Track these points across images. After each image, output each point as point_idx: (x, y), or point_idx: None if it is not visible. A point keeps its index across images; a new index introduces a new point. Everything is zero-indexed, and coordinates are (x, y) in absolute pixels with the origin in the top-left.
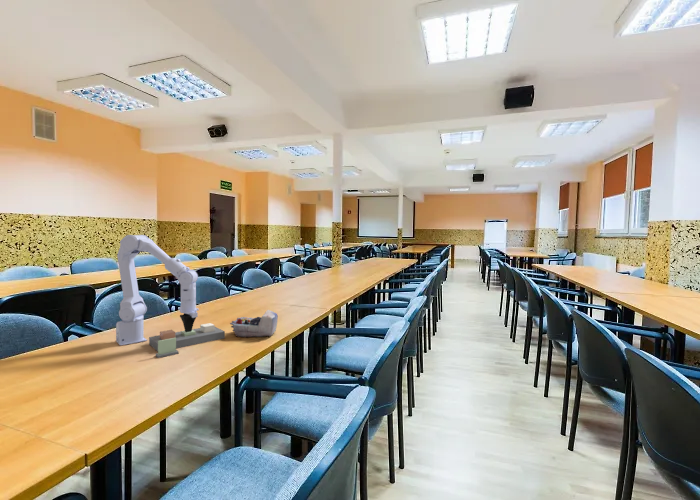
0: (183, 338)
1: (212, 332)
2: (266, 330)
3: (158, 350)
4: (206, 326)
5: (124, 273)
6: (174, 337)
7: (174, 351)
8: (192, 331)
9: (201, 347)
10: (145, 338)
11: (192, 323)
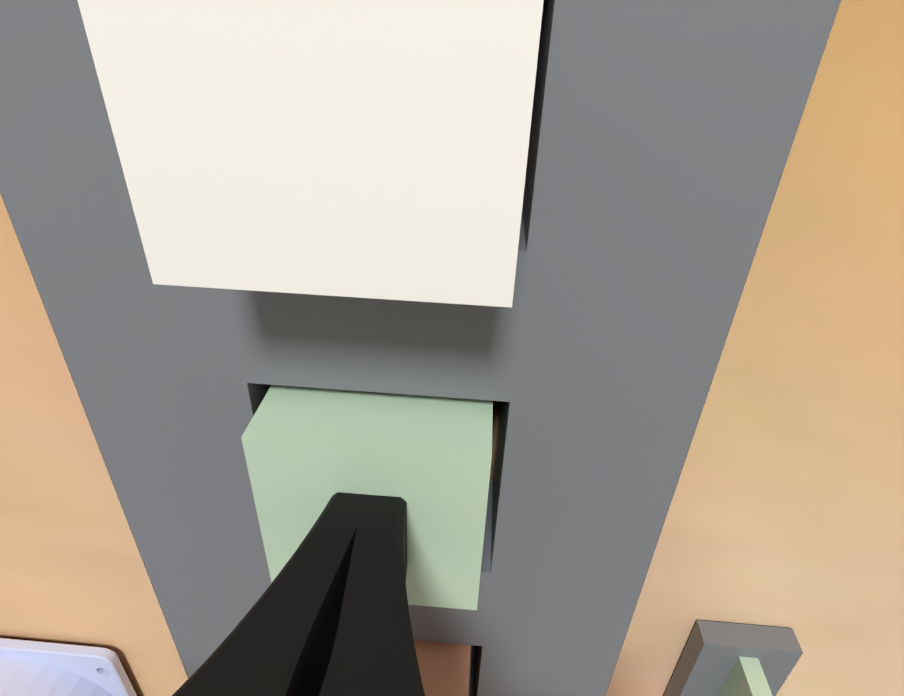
0: (578, 608)
1: (674, 48)
2: None
3: None
4: (516, 238)
5: None
6: (469, 672)
7: (757, 669)
8: (438, 493)
9: (863, 398)
10: (49, 652)
11: (409, 681)
